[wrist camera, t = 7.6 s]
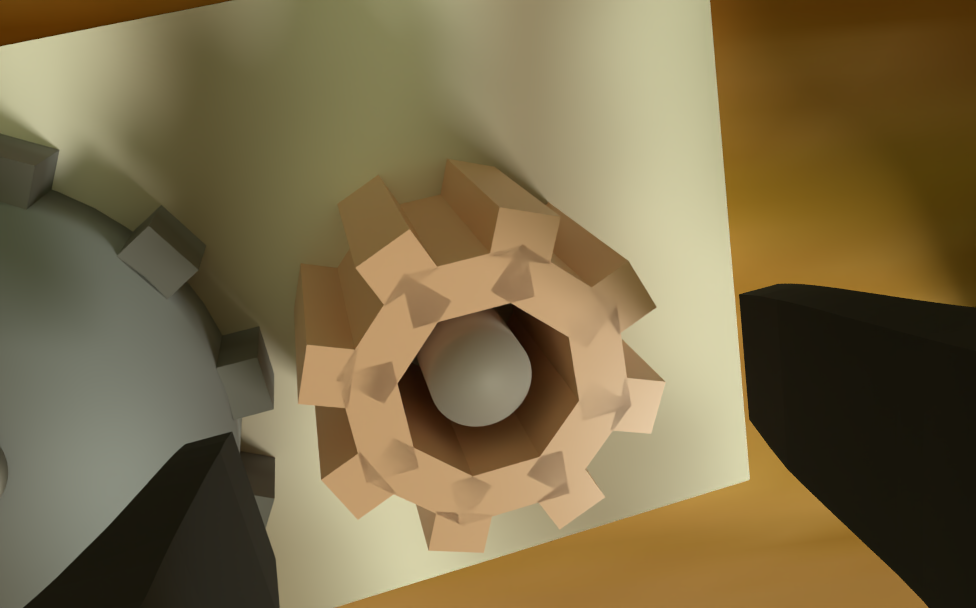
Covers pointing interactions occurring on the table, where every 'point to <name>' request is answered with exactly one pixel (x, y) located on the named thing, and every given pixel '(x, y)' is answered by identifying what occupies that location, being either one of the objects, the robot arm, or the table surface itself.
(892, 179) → the table surface
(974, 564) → the robot arm
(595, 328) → the loose gear
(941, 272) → the table surface
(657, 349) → the gear board
